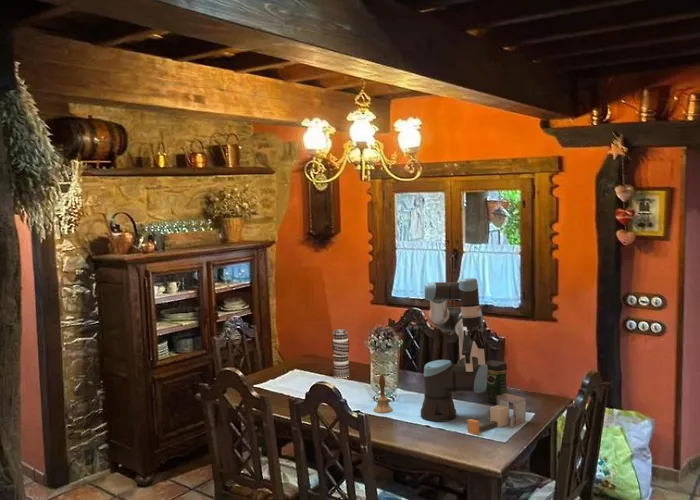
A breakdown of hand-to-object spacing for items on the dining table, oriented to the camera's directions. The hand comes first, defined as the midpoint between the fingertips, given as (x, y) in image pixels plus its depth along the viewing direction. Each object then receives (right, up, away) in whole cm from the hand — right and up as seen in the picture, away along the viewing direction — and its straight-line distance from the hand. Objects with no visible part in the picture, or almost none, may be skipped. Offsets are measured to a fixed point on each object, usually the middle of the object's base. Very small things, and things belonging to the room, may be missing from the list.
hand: (475, 368), depth 272 cm
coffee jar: (+15, -20, +30) cm, 40 cm away
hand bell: (-37, -22, +22) cm, 48 cm away
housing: (+14, -22, +3) cm, 26 cm away
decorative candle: (-56, -19, +81) cm, 100 cm away
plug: (+4, -23, -5) cm, 24 cm away
